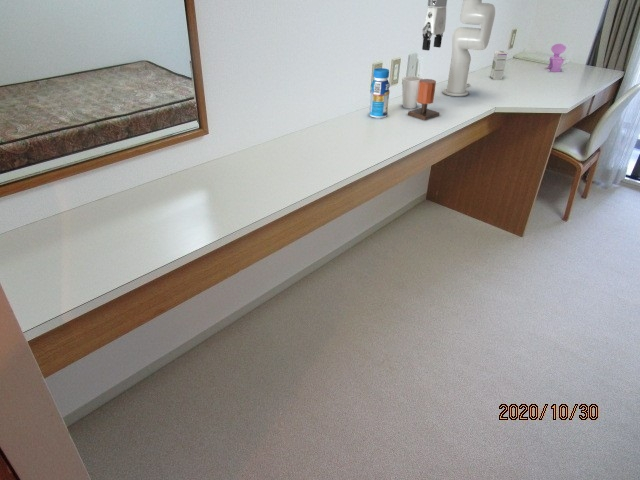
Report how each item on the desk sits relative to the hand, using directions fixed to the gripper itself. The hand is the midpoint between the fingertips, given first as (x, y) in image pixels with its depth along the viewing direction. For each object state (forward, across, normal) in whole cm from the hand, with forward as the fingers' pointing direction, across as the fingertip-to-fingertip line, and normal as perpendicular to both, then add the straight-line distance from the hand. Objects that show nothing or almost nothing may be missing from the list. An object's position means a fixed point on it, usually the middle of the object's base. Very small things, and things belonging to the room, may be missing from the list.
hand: (431, 48), depth 191 cm
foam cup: (+28, +7, +11) cm, 31 cm away
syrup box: (+27, +89, +2) cm, 93 cm away
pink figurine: (+27, +131, -18) cm, 135 cm away
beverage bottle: (+28, -15, +15) cm, 35 cm away
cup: (+22, -1, -1) cm, 22 cm away
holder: (+28, -1, -1) cm, 28 cm away
